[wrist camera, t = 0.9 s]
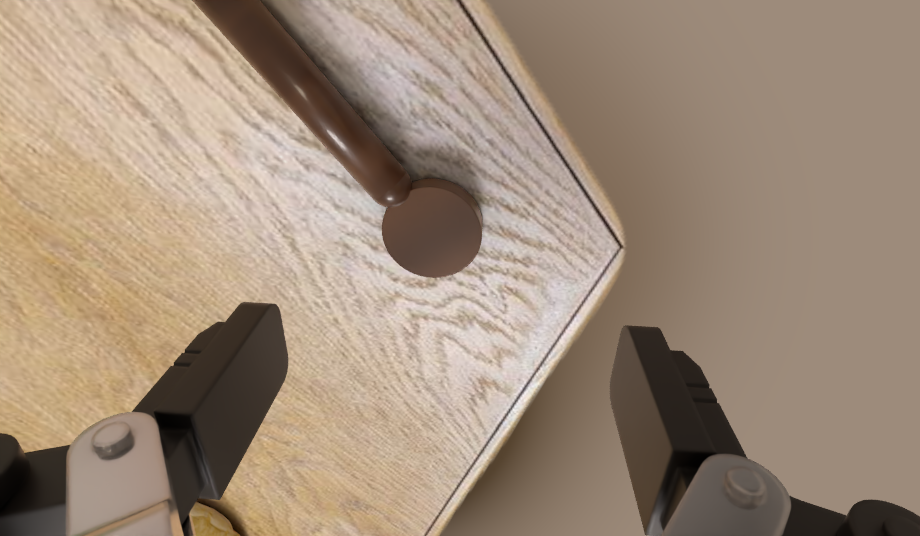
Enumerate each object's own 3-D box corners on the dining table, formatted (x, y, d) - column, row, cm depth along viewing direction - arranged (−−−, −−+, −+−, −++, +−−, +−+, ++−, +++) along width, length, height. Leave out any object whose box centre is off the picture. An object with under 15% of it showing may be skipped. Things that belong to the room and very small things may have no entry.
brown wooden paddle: (157, -10, 21) (126, -10, 19) (229, -100, 19) (202, -108, 18) (429, 282, 27) (424, 302, 25) (502, 232, 25) (502, 251, 24)
